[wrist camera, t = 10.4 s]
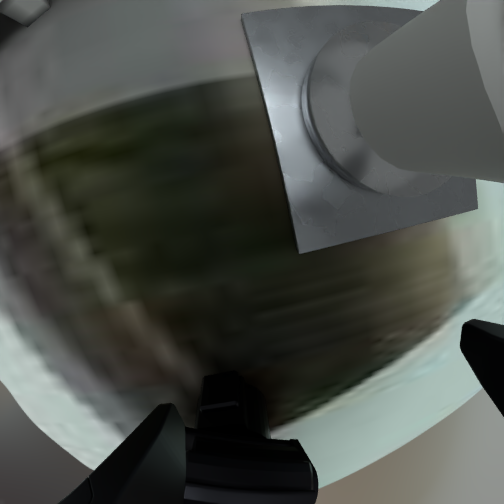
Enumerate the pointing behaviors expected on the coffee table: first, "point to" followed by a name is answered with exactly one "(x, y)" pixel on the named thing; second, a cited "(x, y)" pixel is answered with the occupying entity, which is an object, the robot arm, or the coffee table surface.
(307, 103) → the square metal dish
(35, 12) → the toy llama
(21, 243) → the coffee table surface
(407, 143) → the can
